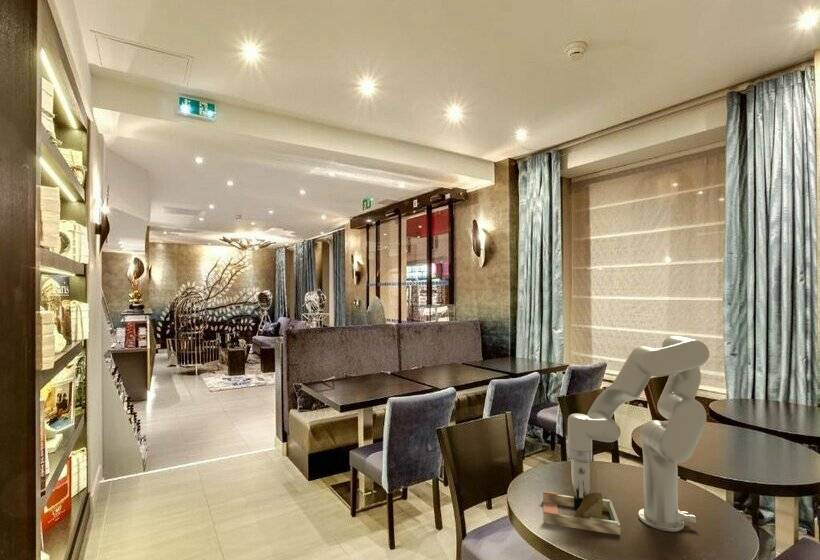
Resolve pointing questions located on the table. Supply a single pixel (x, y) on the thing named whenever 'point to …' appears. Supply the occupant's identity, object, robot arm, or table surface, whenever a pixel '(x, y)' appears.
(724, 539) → the table surface
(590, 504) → the rock
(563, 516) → the box
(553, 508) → the pads
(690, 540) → the table surface
